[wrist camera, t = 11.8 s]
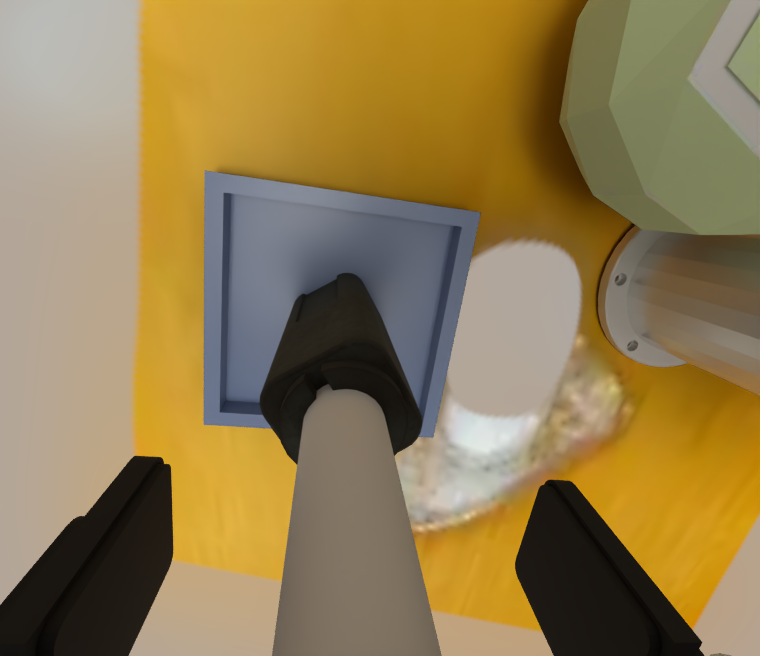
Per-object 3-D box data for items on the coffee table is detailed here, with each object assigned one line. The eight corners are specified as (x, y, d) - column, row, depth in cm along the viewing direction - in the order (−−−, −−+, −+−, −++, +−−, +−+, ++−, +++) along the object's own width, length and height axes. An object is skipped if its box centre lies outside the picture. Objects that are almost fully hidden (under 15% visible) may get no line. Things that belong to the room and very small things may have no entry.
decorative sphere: (785, 54, 25) (1382, -137, 11) (637, 261, 28) (943, 324, 14) (617, -112, 21) (1195, -741, 7) (470, 150, 24) (658, 84, 10)
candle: (354, 266, 25) (637, 1155, 2) (388, 330, 27) (764, 1223, 3) (286, 302, 26) (-255, 1509, 2) (324, 363, 27) (272, 1406, 4)
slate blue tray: (468, 211, 26) (480, 212, 24) (426, 421, 30) (433, 437, 28) (216, 172, 23) (204, 170, 21) (213, 407, 28) (203, 424, 26)
